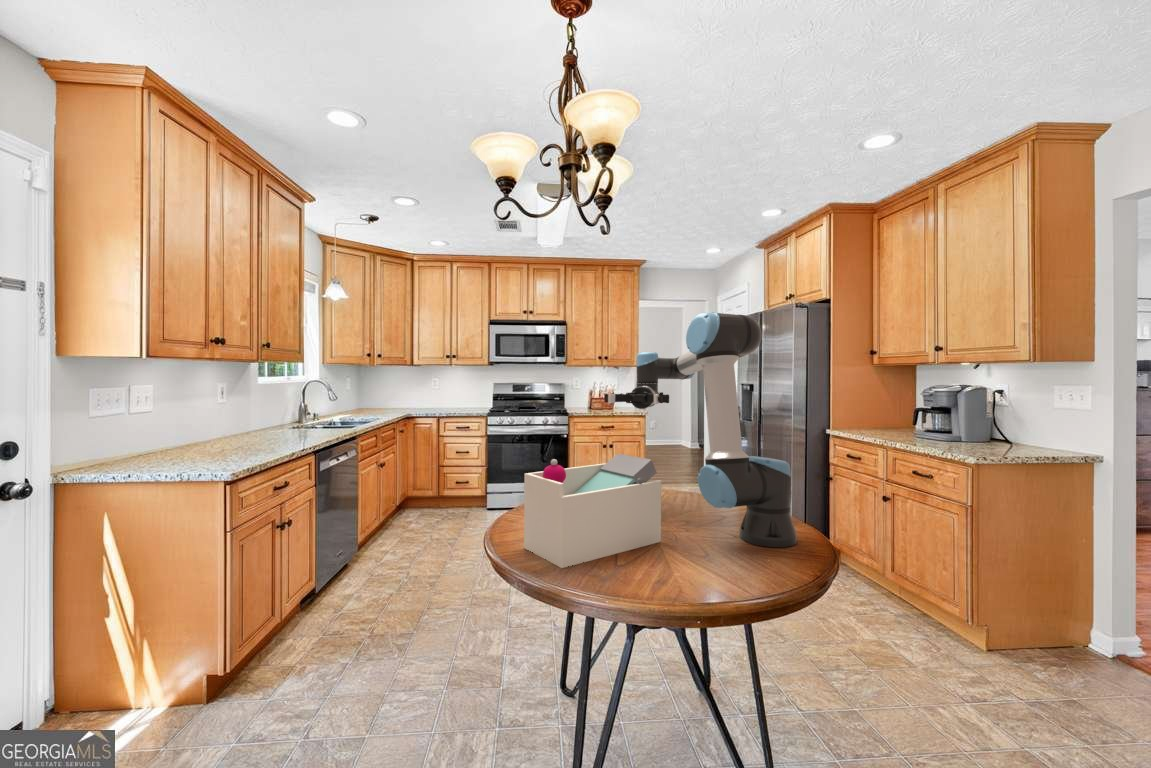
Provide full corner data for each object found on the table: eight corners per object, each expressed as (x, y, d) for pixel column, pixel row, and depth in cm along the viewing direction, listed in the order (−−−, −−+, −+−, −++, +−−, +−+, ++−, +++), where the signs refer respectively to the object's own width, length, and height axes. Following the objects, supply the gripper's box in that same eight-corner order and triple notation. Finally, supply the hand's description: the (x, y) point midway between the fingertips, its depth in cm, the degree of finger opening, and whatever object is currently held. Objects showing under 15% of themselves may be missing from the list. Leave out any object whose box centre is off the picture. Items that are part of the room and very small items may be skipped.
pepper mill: (550, 542, 128) (548, 464, 126) (537, 533, 134) (534, 458, 132) (575, 535, 131) (573, 459, 130) (561, 527, 138) (559, 454, 136)
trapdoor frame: (662, 542, 141) (662, 470, 141) (563, 569, 121) (564, 485, 121) (617, 526, 156) (617, 461, 156) (522, 547, 136) (523, 473, 136)
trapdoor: (656, 472, 143) (651, 459, 142) (603, 521, 132) (597, 507, 130) (623, 465, 154) (618, 453, 153) (571, 509, 143) (565, 497, 142)
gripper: (680, 409, 167) (674, 412, 147) (606, 407, 174) (591, 411, 154) (680, 386, 167) (674, 386, 147) (606, 386, 174) (591, 386, 154)
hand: (631, 399), depth 150 cm, fingers open, 13 cm apart
